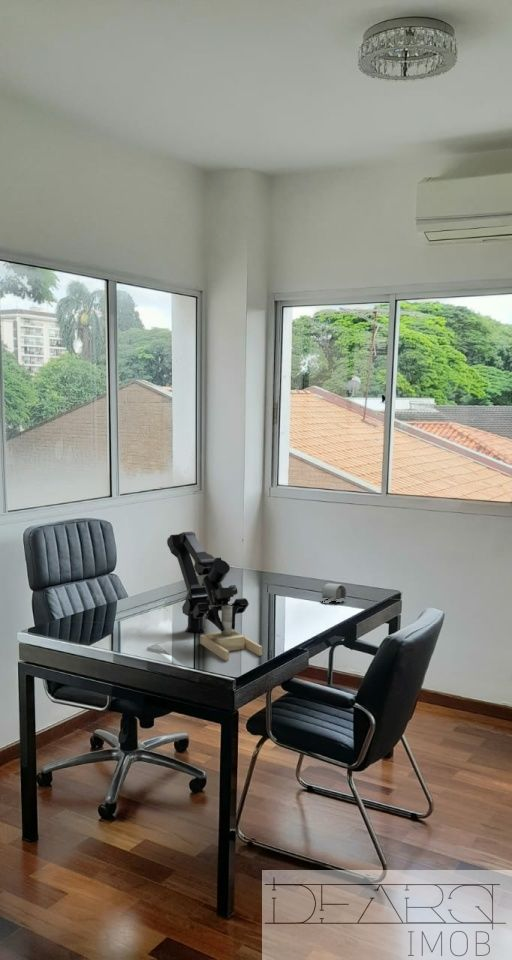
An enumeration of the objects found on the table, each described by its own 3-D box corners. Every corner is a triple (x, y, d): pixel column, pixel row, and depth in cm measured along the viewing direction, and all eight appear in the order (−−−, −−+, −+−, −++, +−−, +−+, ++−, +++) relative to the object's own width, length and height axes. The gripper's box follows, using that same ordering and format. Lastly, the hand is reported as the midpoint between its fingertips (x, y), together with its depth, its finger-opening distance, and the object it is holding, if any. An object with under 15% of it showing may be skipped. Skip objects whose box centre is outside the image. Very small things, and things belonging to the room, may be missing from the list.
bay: (198, 646, 264) (198, 634, 263) (235, 641, 270) (235, 630, 270) (224, 664, 246) (224, 651, 246) (263, 658, 253) (263, 646, 252)
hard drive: (146, 646, 259) (176, 653, 252) (162, 640, 266) (192, 647, 259) (146, 651, 259) (176, 658, 252) (162, 645, 266) (191, 652, 259)
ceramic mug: (331, 597, 335) (331, 580, 335) (346, 601, 330) (347, 583, 329) (315, 602, 328) (315, 584, 327) (331, 606, 322) (331, 587, 321)
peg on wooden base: (208, 644, 262) (208, 605, 261) (232, 641, 267) (232, 602, 265) (219, 652, 255) (220, 611, 253) (244, 648, 259) (245, 608, 258)
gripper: (196, 579, 257) (210, 620, 249) (246, 574, 266) (261, 614, 258) (186, 597, 265) (199, 638, 256) (235, 592, 274) (250, 631, 265)
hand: (228, 630), depth 259 cm, fingers open, 4 cm apart
